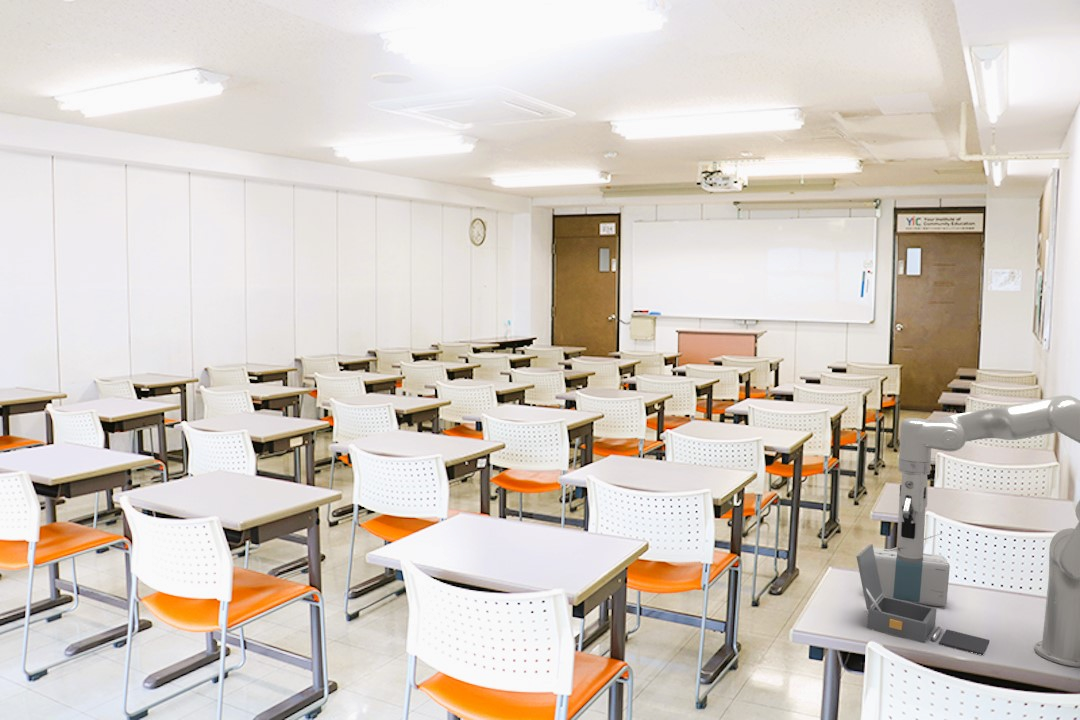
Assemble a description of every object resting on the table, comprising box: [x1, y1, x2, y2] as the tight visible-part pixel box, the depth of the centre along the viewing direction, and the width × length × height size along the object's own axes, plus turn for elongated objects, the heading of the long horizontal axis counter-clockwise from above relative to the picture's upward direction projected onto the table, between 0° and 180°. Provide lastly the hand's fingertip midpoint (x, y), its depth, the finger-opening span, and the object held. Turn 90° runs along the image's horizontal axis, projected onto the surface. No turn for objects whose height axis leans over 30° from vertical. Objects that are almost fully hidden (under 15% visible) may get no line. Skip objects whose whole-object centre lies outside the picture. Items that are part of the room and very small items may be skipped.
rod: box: [930, 626, 943, 642], centre depth 218 cm, size 1×9×1 cm, turn 145°
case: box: [855, 543, 937, 644], centre depth 222 cm, size 18×14×19 cm
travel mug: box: [896, 484, 926, 563], centre depth 219 cm, size 6×7×20 cm
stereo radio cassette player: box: [873, 532, 951, 608], centre depth 241 cm, size 21×8×20 cm, turn 73°
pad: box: [938, 628, 990, 656], centre depth 214 cm, size 10×10×1 cm
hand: (911, 533), depth 220 cm, fingers closed on travel mug, 6 cm apart
